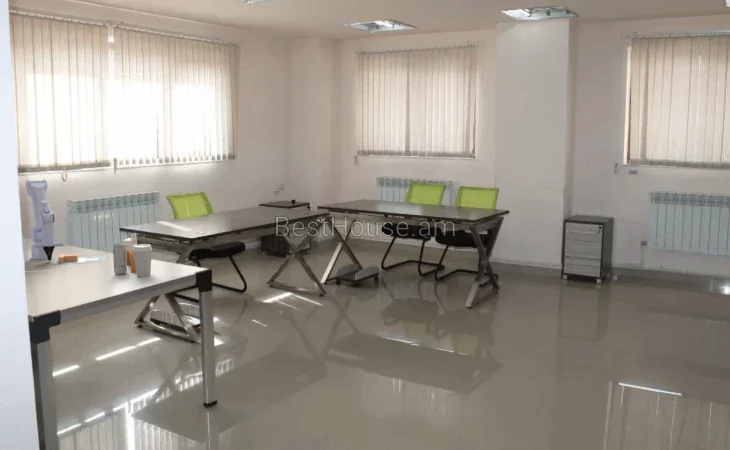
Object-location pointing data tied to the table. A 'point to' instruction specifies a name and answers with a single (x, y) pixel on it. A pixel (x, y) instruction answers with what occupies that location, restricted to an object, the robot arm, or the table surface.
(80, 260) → the board
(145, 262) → the coffee cup
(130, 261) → the arch
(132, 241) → the ink cartridge box
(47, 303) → the table surface
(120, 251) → the energy drink can
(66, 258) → the t block
